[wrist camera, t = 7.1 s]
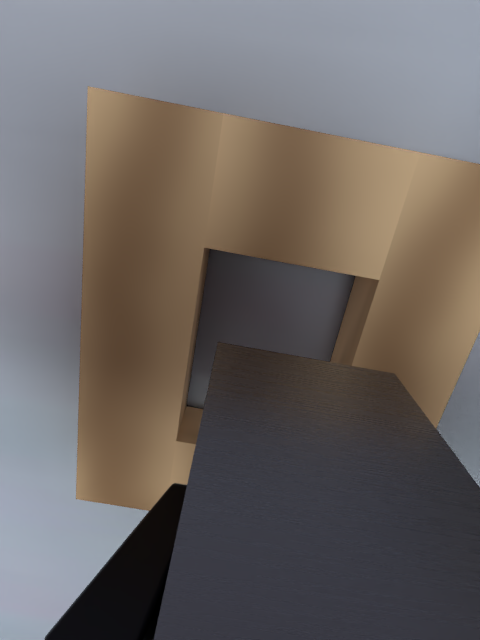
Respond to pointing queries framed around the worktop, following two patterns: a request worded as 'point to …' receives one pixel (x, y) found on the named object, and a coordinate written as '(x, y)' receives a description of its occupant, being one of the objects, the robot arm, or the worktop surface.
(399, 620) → the dark grey rectangular prism
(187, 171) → the post socket
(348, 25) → the worktop surface
